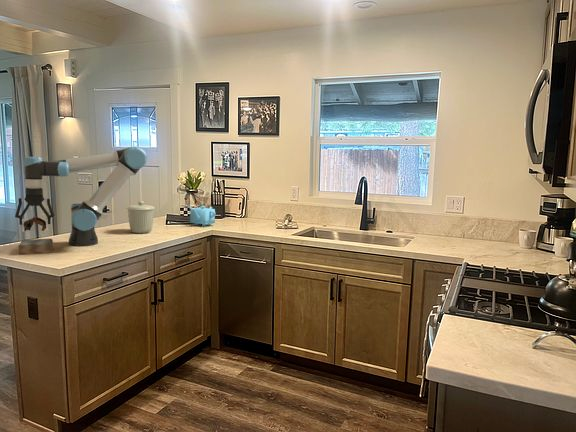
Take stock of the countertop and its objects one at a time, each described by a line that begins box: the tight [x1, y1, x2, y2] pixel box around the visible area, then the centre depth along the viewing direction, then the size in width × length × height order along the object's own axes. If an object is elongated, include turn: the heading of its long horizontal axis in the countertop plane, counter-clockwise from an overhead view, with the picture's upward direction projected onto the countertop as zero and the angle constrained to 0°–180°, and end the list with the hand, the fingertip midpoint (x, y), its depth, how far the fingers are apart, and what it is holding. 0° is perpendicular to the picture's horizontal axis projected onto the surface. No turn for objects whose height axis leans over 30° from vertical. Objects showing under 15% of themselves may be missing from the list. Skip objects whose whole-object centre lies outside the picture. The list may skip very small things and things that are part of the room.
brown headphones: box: [24, 216, 46, 232], centre depth 217 cm, size 12×10×8 cm
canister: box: [126, 200, 156, 234], centre depth 280 cm, size 18×18×21 cm
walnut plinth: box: [18, 238, 54, 256], centre depth 218 cm, size 14×14×5 cm
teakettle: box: [188, 205, 217, 227], centre depth 318 cm, size 19×19×15 cm
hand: (35, 230), depth 216 cm, fingers closed on brown headphones, 10 cm apart
